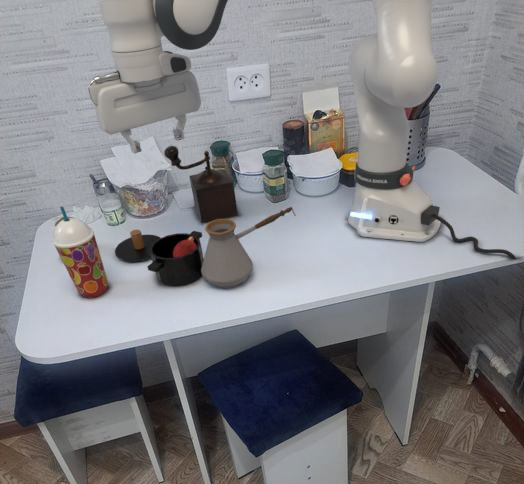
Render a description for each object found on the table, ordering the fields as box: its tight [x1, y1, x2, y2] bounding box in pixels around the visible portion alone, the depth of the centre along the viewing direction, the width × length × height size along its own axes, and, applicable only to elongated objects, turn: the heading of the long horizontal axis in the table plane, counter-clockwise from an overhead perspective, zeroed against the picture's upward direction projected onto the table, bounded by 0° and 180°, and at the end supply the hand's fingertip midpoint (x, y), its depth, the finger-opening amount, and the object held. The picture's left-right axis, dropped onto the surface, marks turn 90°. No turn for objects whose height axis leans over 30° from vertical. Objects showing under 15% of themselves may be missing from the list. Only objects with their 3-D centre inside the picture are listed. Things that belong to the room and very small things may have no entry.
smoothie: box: [51, 206, 109, 299], centre depth 99 cm, size 8×8×20 cm
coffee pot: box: [201, 206, 296, 289], centre depth 100 cm, size 21×12×15 cm, turn 96°
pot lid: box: [114, 229, 161, 262], centre depth 116 cm, size 12×12×5 cm
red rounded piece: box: [173, 237, 197, 258], centre depth 106 cm, size 6×6×8 cm
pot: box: [147, 230, 204, 288], centre depth 106 cm, size 11×17×7 cm
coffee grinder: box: [163, 145, 239, 224], centre depth 124 cm, size 16×11×18 cm
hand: (158, 145), depth 94 cm, fingers open, 8 cm apart
